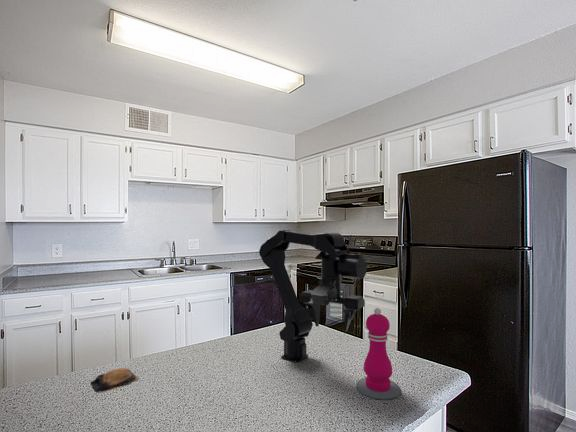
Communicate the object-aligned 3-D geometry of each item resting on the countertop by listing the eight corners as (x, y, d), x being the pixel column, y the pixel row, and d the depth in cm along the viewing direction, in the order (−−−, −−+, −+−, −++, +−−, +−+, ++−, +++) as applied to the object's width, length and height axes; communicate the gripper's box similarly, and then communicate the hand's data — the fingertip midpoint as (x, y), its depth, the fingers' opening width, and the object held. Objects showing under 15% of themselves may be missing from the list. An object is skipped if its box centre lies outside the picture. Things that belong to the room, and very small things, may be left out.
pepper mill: (385, 379, 88) (385, 304, 89) (397, 392, 81) (396, 311, 82) (359, 380, 87) (359, 305, 88) (369, 393, 80) (369, 311, 81)
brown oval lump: (129, 372, 94) (129, 359, 94) (141, 382, 88) (141, 368, 88) (87, 384, 86) (88, 370, 87) (97, 396, 80) (98, 380, 81)
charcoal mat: (349, 391, 83) (349, 389, 83) (365, 375, 92) (365, 373, 92) (393, 404, 76) (393, 402, 76) (405, 386, 86) (405, 383, 86)
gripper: (289, 275, 95) (289, 330, 94) (349, 281, 84) (349, 342, 84) (309, 271, 104) (308, 321, 103) (365, 276, 93) (365, 331, 93)
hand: (331, 328), depth 95 cm, fingers open, 9 cm apart
